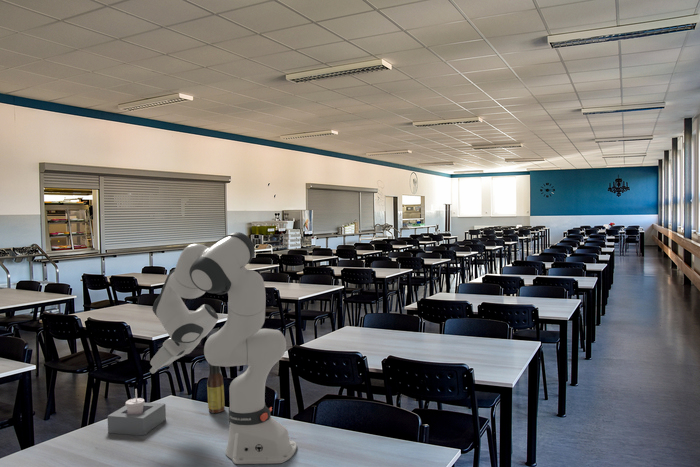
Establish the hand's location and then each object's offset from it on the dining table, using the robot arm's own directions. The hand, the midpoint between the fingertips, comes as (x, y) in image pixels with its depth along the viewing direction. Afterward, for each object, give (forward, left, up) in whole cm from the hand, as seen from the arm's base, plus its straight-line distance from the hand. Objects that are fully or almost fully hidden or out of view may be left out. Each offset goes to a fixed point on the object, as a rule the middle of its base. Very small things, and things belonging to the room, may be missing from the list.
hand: (159, 367), depth 182 cm
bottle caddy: (+9, 0, -22) cm, 24 cm away
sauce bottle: (-13, -18, -22) cm, 31 cm away
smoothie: (+9, +1, -22) cm, 24 cm away
